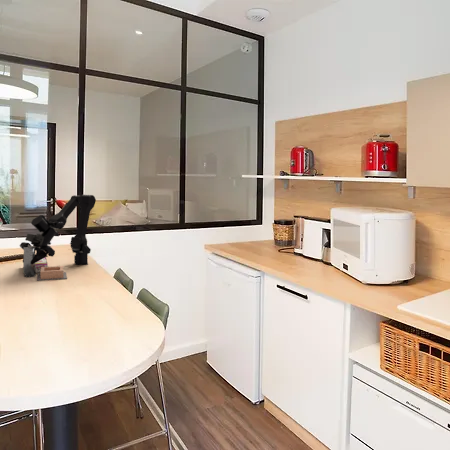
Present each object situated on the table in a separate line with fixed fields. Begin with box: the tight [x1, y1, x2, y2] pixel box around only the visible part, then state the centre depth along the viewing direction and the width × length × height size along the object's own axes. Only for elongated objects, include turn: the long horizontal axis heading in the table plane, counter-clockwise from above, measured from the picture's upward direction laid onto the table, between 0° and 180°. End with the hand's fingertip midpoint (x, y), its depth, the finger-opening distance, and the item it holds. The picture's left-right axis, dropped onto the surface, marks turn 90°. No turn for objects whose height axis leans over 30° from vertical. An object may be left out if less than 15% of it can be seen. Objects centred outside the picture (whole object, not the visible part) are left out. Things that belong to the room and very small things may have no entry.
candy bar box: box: [22, 257, 49, 274], centre depth 205 cm, size 11×5×16 cm
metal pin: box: [23, 247, 37, 278], centre depth 192 cm, size 5×5×14 cm
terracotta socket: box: [36, 265, 68, 281], centre depth 193 cm, size 13×13×4 cm
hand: (27, 263), depth 191 cm, fingers closed on metal pin, 5 cm apart
